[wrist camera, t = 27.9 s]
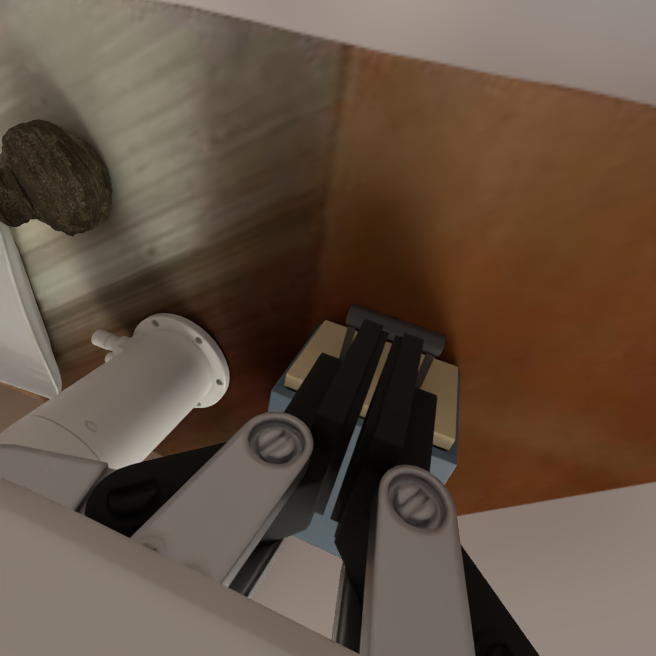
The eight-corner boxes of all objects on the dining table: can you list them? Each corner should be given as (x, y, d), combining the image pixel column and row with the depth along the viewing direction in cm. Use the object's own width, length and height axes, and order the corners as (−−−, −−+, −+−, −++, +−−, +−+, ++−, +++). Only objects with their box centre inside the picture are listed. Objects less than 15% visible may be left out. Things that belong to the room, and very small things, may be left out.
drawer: (336, 269, 31) (296, 315, 24) (483, 318, 29) (488, 383, 22) (298, 432, 42) (263, 497, 35) (403, 475, 40) (388, 554, 33)
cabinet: (319, 323, 35) (270, 390, 27) (460, 373, 33) (457, 464, 24) (294, 438, 44) (250, 516, 35) (403, 483, 42) (385, 579, 33)
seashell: (-75, 95, 30) (-36, 218, 35) (-85, 121, 23) (-34, 270, 28) (88, 116, 37) (100, 216, 42) (120, 141, 30) (130, 258, 35)
